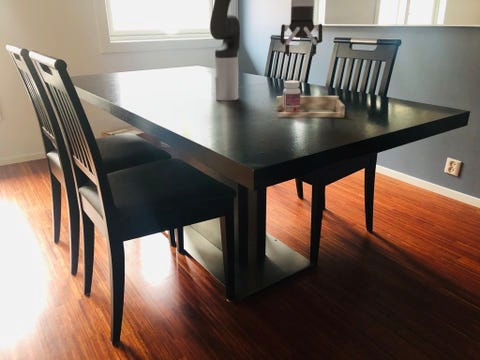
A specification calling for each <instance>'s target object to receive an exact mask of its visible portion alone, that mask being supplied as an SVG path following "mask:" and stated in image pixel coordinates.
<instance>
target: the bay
mask: <svg viewBox="0 0 480 360" xmlns="http://www.w3.org/2000/svg"><path fill="white" fill-rule="evenodd" d="M275 104H276V111H280V112H277V118H345V113H346V112H345V108H346V105H345V104H344V103H343V102H342V101H341V100H340V98H339V95H300V112H283V95H279V96H278V95H277V96H276V103H275ZM308 110H333V112H308ZM304 111H305V112H304Z"/></svg>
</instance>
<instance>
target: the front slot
mask: <svg viewBox="0 0 480 360" xmlns="http://www.w3.org/2000/svg"><path fill="white" fill-rule="evenodd" d="M307 112H334V110H307Z"/></svg>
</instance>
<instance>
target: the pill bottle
mask: <svg viewBox="0 0 480 360" xmlns="http://www.w3.org/2000/svg"><path fill="white" fill-rule="evenodd" d="M283 87H285V88H284V89H283V91H282V96H283V110H282V112H301V110H300V96H301V89H300V88H299V87H300V81H299V80H286V81H284V86H283Z"/></svg>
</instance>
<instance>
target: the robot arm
mask: <svg viewBox="0 0 480 360" xmlns="http://www.w3.org/2000/svg"><path fill="white" fill-rule="evenodd" d="M290 1H291V2H290V5H291V6H290V23H289V24H281V28H280V40H279V42H280V44H283V45H285V46H284V47H285V48H284V49H285V50H284V52H285V53H284V54H285V55H286V56H287V57H289V56H290V43H291V42H292V41H293V39H294V38H298V39H299V38H303V39H306V38H309V39H310V41H311V42H312V45H311V57H314V56H315V55H317V45H318V44H320V43H322V42H323V24H322V23H319V24H315V23H314V13H315V12H314V9H315V0H290ZM231 2H232V0H214V2H213V3H214V4H213V7H212V12H211V17H210V22H209V32H210V36H211V37H212V39H214V40H217V41H219V40H222V43H221V45H220V46H219V47H218V48H217V49H215V51H214V57H215V58H214V59H215V60H214V61H215V77H214V78H215V100H216V101H223V102H225V101H226V102H228V101H236V100H238V99H239V66H238V64H239V63H238V62H239V61H238V60H239V59H238V58H239V57H238V55H239V51H240V50H239V49H240V43H241V42H240V41H241V39H240V38H241V26H240V21H239V19H238V17H237V16H235V15H233V14H229V9H230V4H231ZM314 28H315V30H316V31H317V33H318V34H317V39H315V37H314V36H313V34H312V31H313V30H314ZM288 29H289V30H290V32H291V33H290V35H289V36H288V38H287V39H285V34H286V33H285V32H287V31H288Z"/></svg>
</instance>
